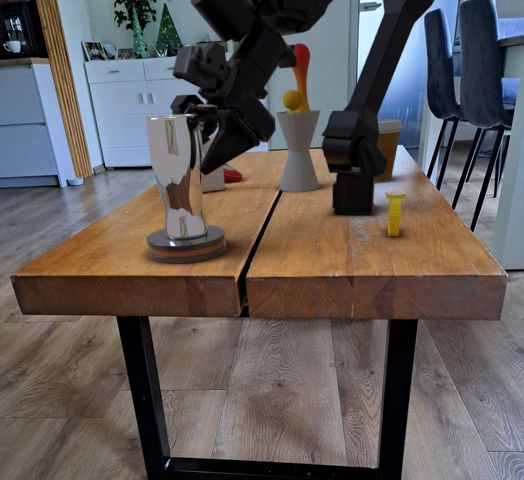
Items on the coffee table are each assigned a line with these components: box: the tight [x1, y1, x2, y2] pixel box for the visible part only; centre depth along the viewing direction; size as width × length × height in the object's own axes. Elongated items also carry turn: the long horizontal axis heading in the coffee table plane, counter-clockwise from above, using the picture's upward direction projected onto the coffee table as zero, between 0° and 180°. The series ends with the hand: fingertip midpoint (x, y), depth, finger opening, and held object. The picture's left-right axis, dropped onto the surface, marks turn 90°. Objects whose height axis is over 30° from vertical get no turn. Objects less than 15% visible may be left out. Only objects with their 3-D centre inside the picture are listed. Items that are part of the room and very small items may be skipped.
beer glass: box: [145, 114, 208, 239], centre depth 65 cm, size 7×7×15 cm
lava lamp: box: [275, 30, 321, 193], centre depth 98 cm, size 9×9×35 cm
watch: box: [385, 189, 407, 237], centre depth 70 cm, size 6×3×6 cm, turn 170°
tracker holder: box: [223, 162, 243, 182], centre depth 120 cm, size 12×4×10 cm
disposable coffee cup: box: [375, 118, 404, 183], centre depth 107 cm, size 10×10×12 cm
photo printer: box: [203, 132, 226, 193], centre depth 106 cm, size 10×4×12 cm, turn 117°
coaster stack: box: [146, 224, 227, 264], centre depth 69 cm, size 11×11×2 cm
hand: (185, 169), depth 65 cm, fingers open, 9 cm apart
